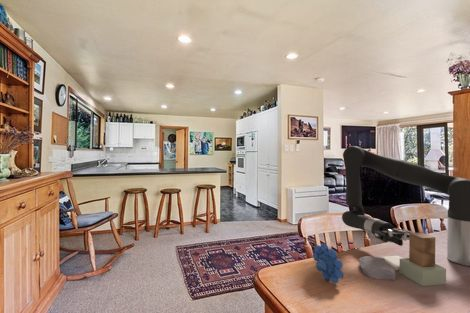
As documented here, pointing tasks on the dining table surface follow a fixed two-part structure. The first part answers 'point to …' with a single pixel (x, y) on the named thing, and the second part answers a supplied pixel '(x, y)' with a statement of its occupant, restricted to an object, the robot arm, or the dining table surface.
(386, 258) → the cream flat slab
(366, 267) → the stone block
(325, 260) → the grapes
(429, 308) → the dining table surface
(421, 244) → the walnut block
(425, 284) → the green stand
